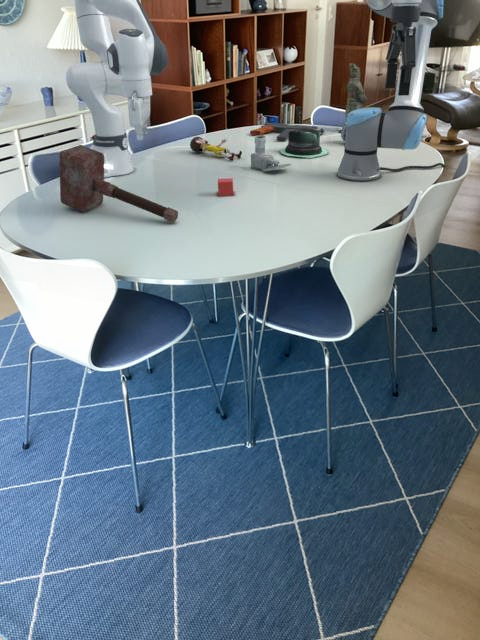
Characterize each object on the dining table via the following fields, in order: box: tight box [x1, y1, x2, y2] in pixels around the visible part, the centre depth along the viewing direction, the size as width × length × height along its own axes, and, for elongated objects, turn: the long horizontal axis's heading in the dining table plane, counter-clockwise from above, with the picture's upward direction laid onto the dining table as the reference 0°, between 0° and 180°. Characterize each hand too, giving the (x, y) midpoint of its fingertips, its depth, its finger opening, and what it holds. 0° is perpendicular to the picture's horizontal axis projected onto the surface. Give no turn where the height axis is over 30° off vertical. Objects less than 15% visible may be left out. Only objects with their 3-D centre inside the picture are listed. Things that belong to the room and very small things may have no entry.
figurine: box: [189, 136, 243, 162], centre depth 232 cm, size 13×8×25 cm
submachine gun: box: [249, 122, 325, 141], centre depth 263 cm, size 32×3×25 cm
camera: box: [250, 134, 292, 173], centre depth 210 cm, size 9×12×15 cm
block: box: [217, 177, 234, 197], centre depth 188 cm, size 4×5×5 cm
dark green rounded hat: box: [279, 128, 328, 159], centre depth 234 cm, size 15×19×20 cm
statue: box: [344, 62, 368, 123], centre depth 262 cm, size 11×9×30 cm
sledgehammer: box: [59, 144, 179, 223], centre depth 170 cm, size 17×10×40 cm
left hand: (142, 136), depth 175 cm, fingers open, 8 cm apart
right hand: (396, 91), depth 157 cm, fingers open, 13 cm apart
